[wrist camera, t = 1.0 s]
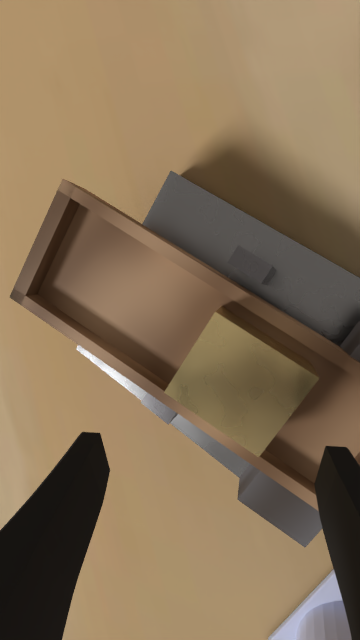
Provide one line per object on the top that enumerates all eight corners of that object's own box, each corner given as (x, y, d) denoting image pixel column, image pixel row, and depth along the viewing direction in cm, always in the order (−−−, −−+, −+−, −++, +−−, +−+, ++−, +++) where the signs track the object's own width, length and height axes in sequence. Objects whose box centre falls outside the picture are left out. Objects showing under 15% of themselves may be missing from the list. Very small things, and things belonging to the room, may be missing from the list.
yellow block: (310, 361, 16) (319, 378, 14) (258, 431, 17) (258, 457, 15) (221, 305, 17) (215, 311, 14) (177, 375, 18) (163, 392, 15)
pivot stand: (407, 307, 18) (441, 312, 14) (264, 487, 22) (256, 535, 18) (176, 175, 22) (147, 147, 18) (84, 346, 26) (41, 358, 21)
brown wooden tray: (445, 351, 16) (479, 366, 13) (300, 519, 19) (306, 557, 16) (107, 150, 18) (83, 131, 16) (24, 325, 21) (-7, 333, 19)
